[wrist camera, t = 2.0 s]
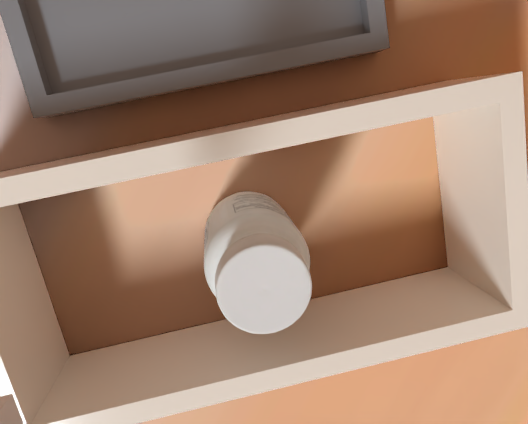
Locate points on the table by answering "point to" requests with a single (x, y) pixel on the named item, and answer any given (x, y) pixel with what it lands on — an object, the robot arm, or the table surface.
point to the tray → (174, 44)
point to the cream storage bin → (319, 309)
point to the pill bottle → (256, 263)
